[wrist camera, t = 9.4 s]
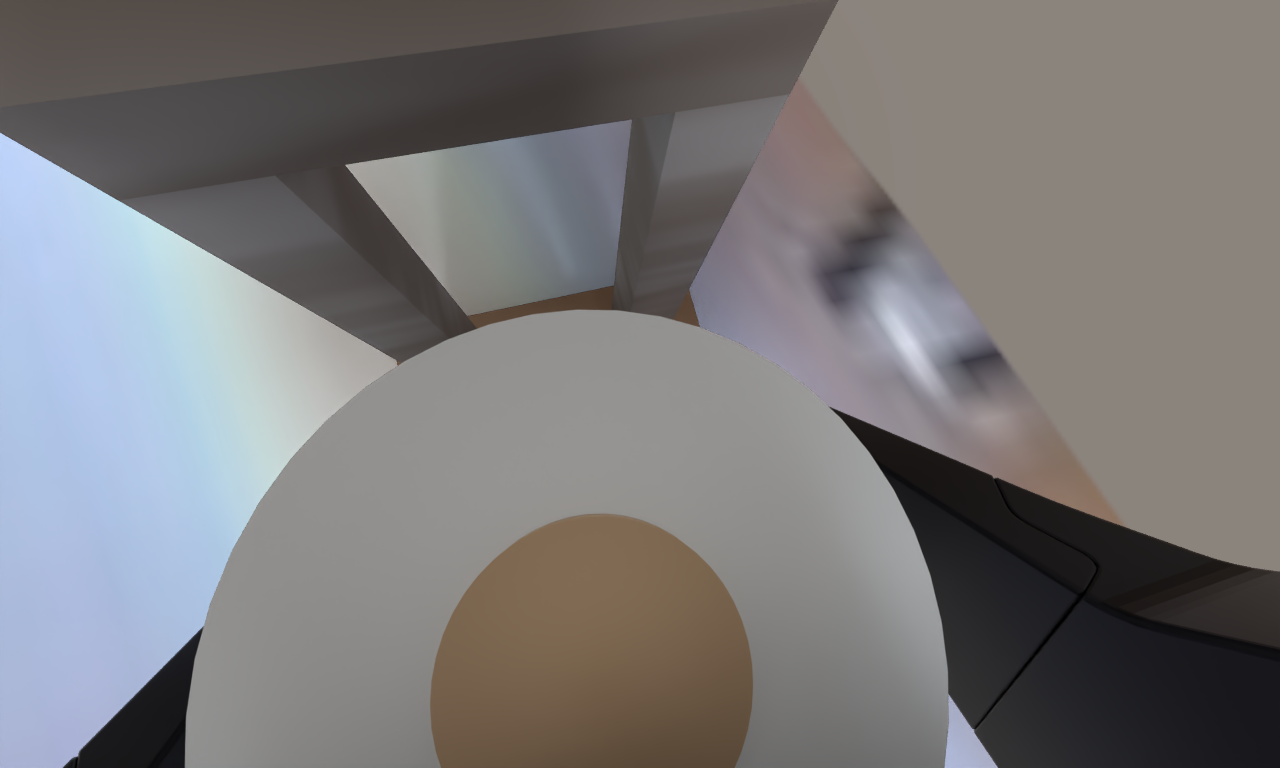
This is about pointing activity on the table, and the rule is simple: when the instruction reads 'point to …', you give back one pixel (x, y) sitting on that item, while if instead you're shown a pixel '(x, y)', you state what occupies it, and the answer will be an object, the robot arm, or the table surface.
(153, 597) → the table surface
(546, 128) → the stand
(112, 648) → the table surface
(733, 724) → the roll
